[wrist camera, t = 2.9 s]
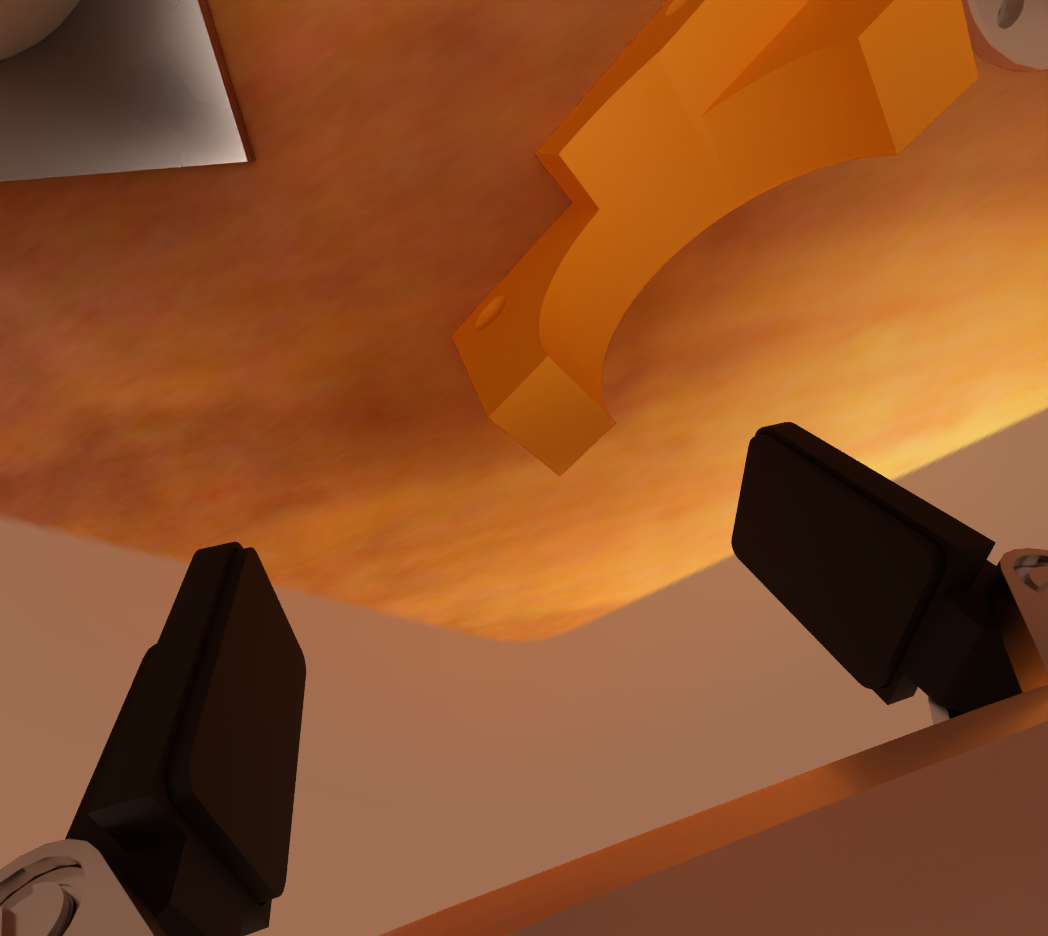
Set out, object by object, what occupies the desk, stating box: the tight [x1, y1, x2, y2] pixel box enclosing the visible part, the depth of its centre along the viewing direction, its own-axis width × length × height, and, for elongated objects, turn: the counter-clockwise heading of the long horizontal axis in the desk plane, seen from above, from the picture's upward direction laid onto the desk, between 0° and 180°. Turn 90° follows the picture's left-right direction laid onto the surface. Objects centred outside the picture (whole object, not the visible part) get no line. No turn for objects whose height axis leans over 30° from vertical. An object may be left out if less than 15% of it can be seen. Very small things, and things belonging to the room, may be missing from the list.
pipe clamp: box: [451, 0, 978, 476], centre depth 13 cm, size 12×4×6 cm, turn 134°
